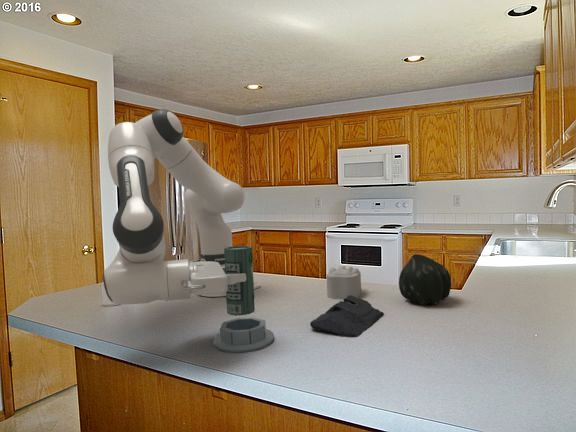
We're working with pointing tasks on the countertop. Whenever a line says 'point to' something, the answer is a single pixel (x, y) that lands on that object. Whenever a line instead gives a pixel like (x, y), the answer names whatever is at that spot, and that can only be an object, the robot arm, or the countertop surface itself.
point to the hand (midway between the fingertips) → (243, 273)
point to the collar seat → (243, 335)
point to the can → (241, 292)
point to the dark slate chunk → (348, 317)
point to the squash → (424, 280)
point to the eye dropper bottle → (106, 297)
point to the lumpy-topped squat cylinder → (343, 283)
